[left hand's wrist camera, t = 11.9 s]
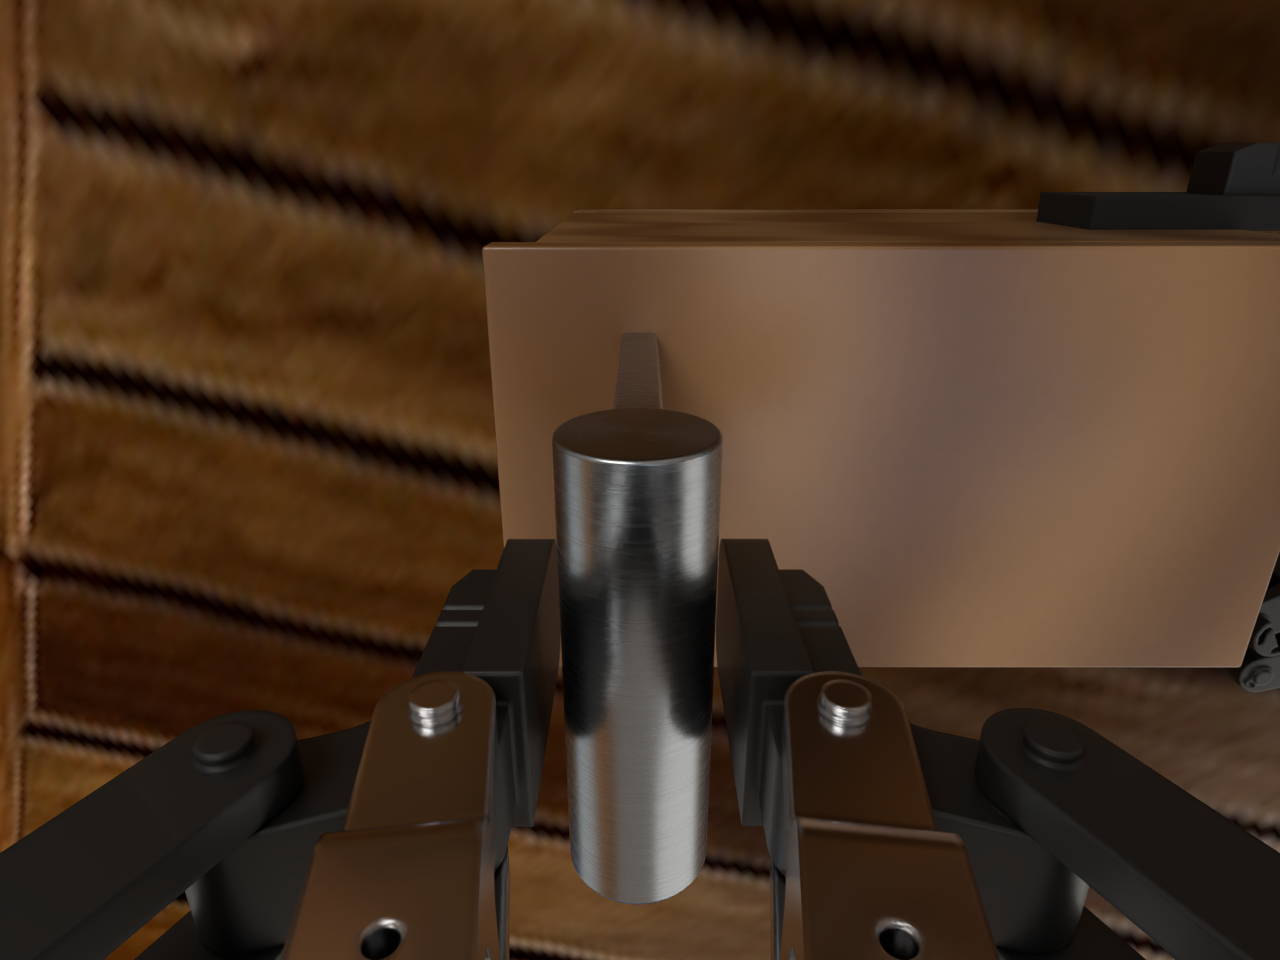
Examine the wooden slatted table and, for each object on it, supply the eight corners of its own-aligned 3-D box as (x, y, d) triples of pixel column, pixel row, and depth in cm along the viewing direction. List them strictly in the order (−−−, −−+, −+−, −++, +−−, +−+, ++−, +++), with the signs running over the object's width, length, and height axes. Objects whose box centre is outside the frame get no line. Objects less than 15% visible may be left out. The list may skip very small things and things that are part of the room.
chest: (583, 477, 30) (553, 646, 20) (576, 209, 26) (533, 241, 16) (1015, 477, 30) (1215, 646, 19) (1067, 209, 26) (1345, 240, 16)
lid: (517, 646, 19) (432, 979, 12) (489, 241, 16) (336, 322, 8) (1216, 647, 19) (1612, 982, 11) (1346, 241, 16) (2051, 321, 8)
